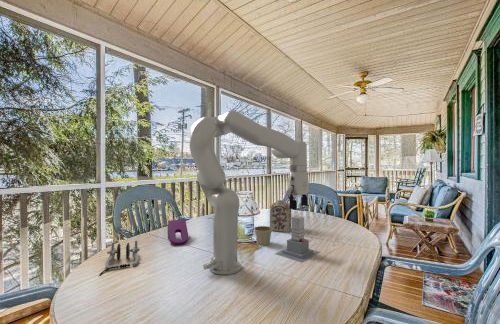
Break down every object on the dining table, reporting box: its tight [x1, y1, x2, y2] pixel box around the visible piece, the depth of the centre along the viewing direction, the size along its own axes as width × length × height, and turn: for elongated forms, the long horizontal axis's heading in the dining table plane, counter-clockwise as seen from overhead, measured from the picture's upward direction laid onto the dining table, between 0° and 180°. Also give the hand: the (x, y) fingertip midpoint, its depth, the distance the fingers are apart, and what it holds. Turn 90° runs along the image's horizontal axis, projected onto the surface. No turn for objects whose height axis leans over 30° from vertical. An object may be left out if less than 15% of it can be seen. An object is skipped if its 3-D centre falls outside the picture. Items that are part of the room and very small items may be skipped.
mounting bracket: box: [167, 218, 189, 246], centre depth 138 cm, size 9×8×18 cm
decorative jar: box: [269, 199, 292, 233], centre depth 159 cm, size 12×12×18 cm
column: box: [291, 215, 305, 242], centre depth 115 cm, size 4×4×14 cm
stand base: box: [274, 237, 321, 263], centre depth 115 cm, size 16×14×8 cm
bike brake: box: [98, 240, 141, 277], centre depth 106 cm, size 14×7×20 cm
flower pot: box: [253, 225, 273, 246], centre depth 129 cm, size 9×9×9 cm
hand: (298, 207), depth 115 cm, fingers open, 9 cm apart
